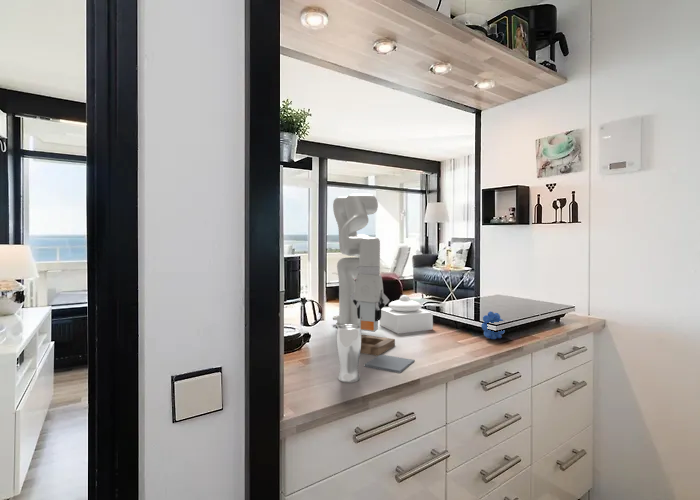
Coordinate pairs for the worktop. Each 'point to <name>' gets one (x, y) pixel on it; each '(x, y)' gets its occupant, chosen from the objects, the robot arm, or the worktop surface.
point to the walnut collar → (375, 344)
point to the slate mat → (389, 363)
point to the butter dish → (406, 316)
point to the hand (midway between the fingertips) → (369, 318)
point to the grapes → (491, 318)
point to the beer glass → (349, 352)
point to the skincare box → (368, 317)
